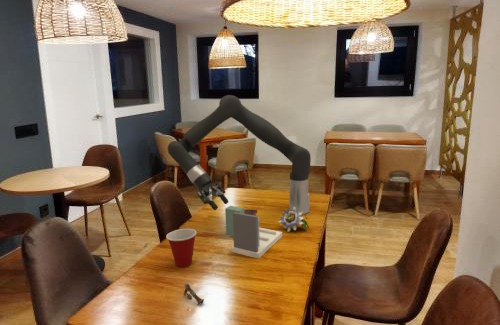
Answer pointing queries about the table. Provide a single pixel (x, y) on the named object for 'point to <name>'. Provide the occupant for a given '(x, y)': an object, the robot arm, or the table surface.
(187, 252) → the plastic cup
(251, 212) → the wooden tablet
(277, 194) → the table surface
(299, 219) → the passion flower
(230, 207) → the green book
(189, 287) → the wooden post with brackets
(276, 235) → the book rack
